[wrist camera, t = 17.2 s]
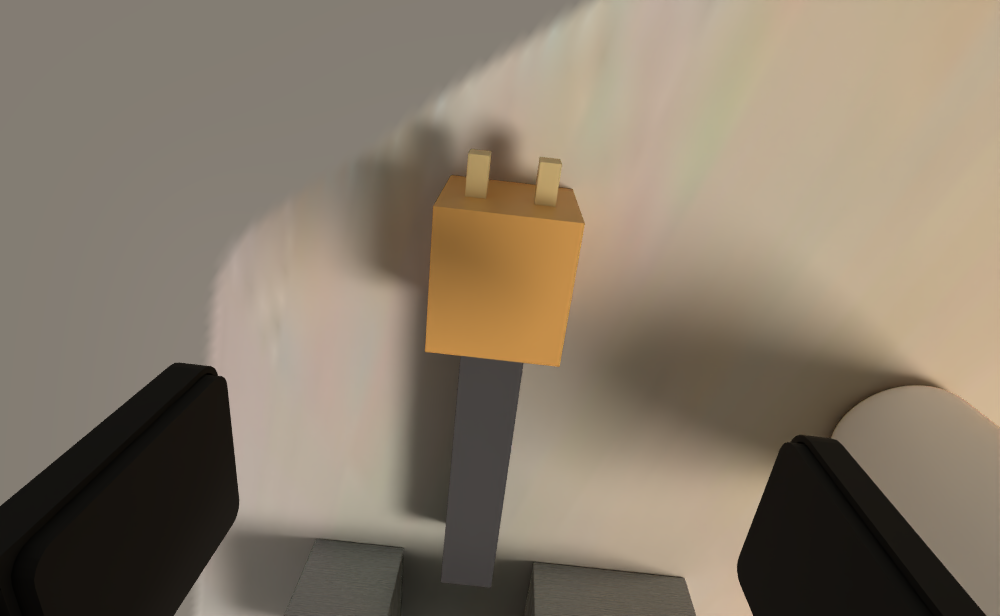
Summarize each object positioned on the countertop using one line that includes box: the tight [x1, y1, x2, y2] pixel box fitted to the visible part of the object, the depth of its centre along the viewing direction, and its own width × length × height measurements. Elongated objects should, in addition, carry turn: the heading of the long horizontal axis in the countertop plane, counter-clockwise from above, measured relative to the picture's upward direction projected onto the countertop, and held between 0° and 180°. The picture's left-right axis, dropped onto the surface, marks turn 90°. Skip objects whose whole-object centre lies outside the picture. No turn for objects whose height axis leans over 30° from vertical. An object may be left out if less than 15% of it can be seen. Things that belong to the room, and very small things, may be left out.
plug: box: [425, 149, 585, 588], centre depth 19 cm, size 4×17×4 cm, turn 174°
